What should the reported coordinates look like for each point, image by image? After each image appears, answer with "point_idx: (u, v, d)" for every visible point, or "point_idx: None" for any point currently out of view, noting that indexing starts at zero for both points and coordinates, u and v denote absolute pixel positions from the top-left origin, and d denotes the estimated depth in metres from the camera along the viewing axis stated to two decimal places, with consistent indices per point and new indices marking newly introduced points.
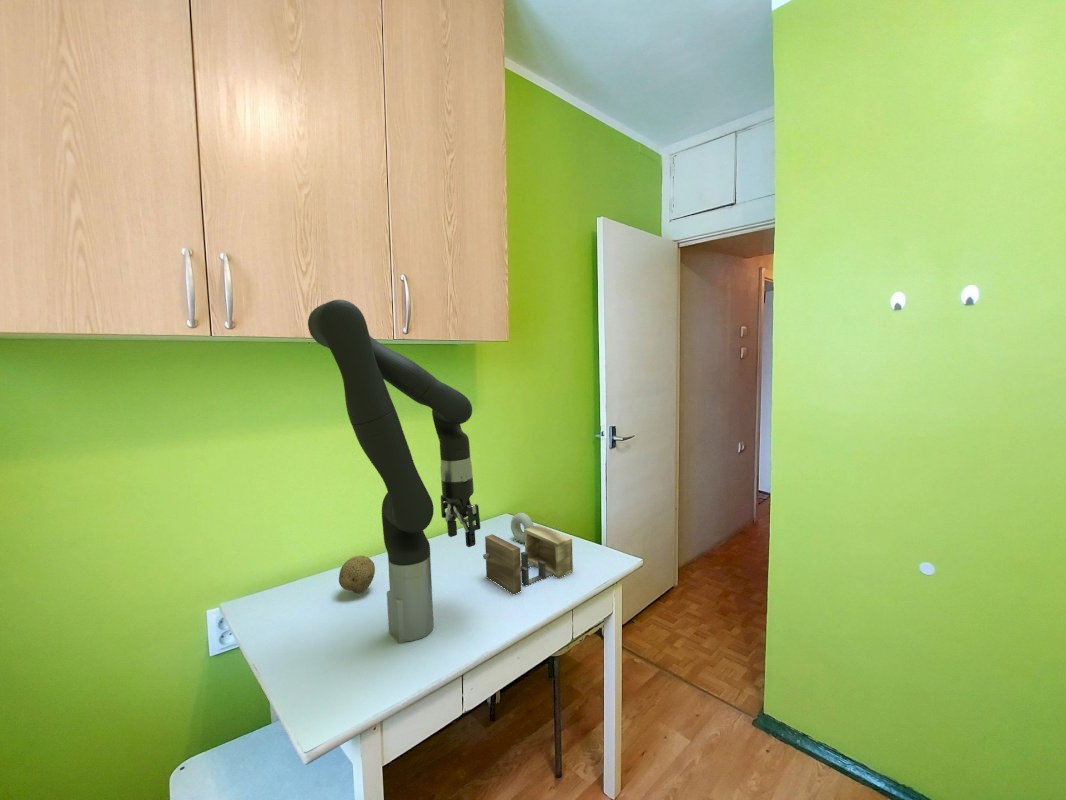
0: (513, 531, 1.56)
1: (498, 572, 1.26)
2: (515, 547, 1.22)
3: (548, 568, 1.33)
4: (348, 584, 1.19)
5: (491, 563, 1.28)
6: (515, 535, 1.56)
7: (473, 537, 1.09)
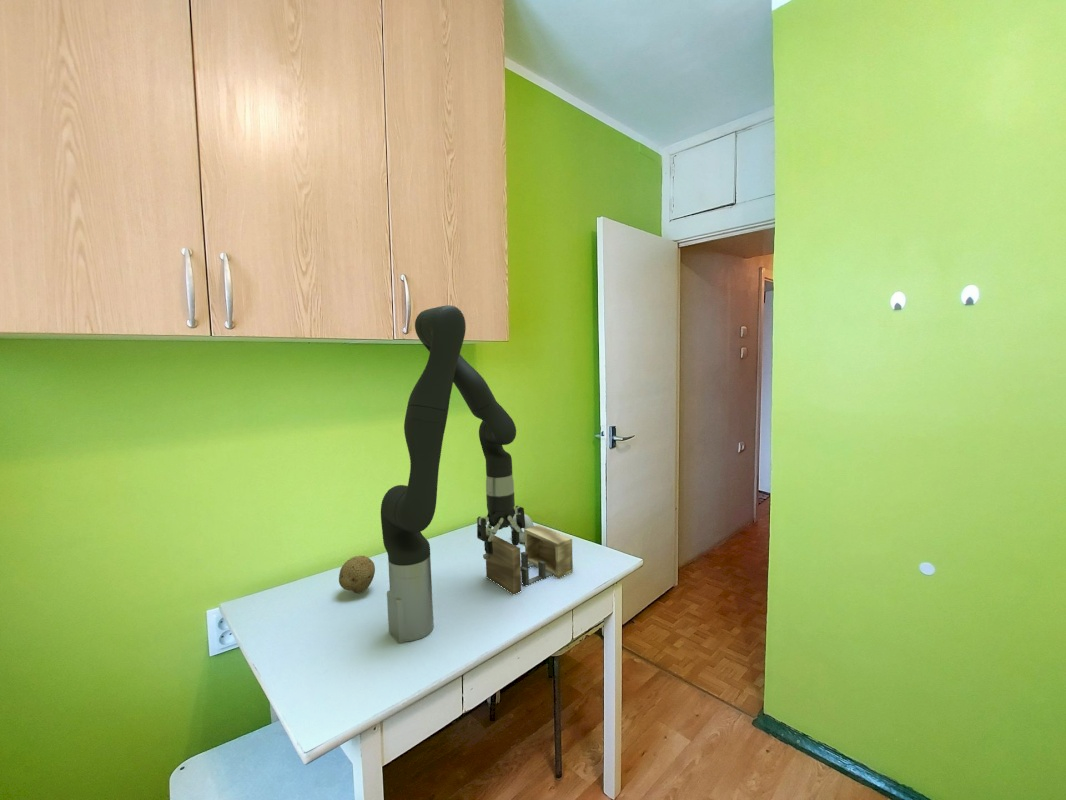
0: None
1: (498, 572, 1.26)
2: (515, 547, 1.22)
3: (548, 568, 1.33)
4: (348, 584, 1.19)
5: (491, 563, 1.28)
6: None
7: None
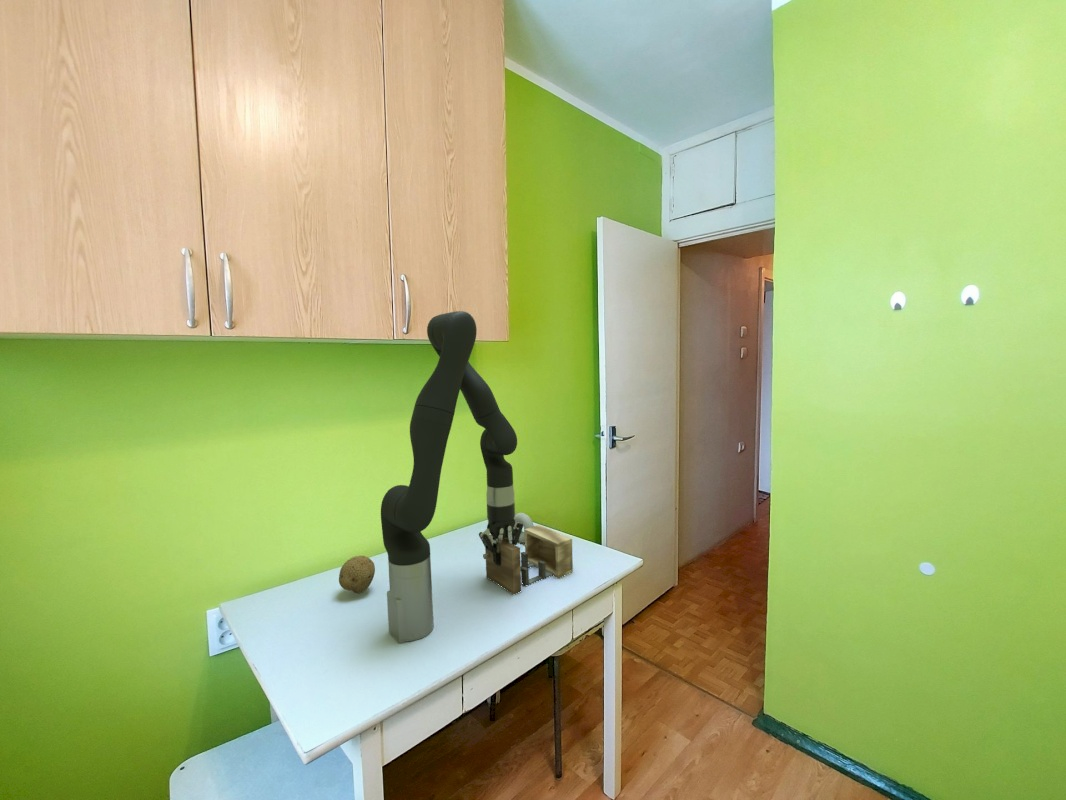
0: None
1: (497, 572, 1.26)
2: (515, 547, 1.22)
3: (548, 568, 1.33)
4: (348, 584, 1.19)
5: (491, 563, 1.28)
6: None
7: None
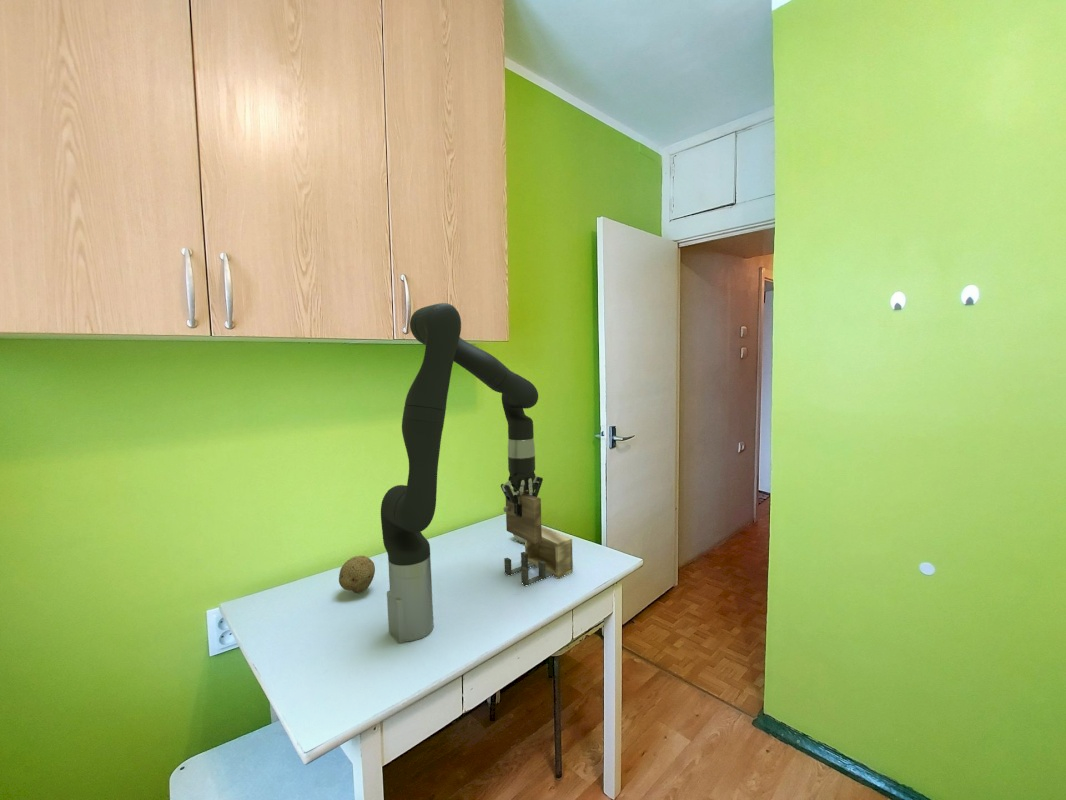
0: None
1: (518, 523, 1.29)
2: (536, 498, 1.25)
3: (548, 568, 1.33)
4: (348, 584, 1.19)
5: (512, 516, 1.32)
6: (515, 535, 1.56)
7: None
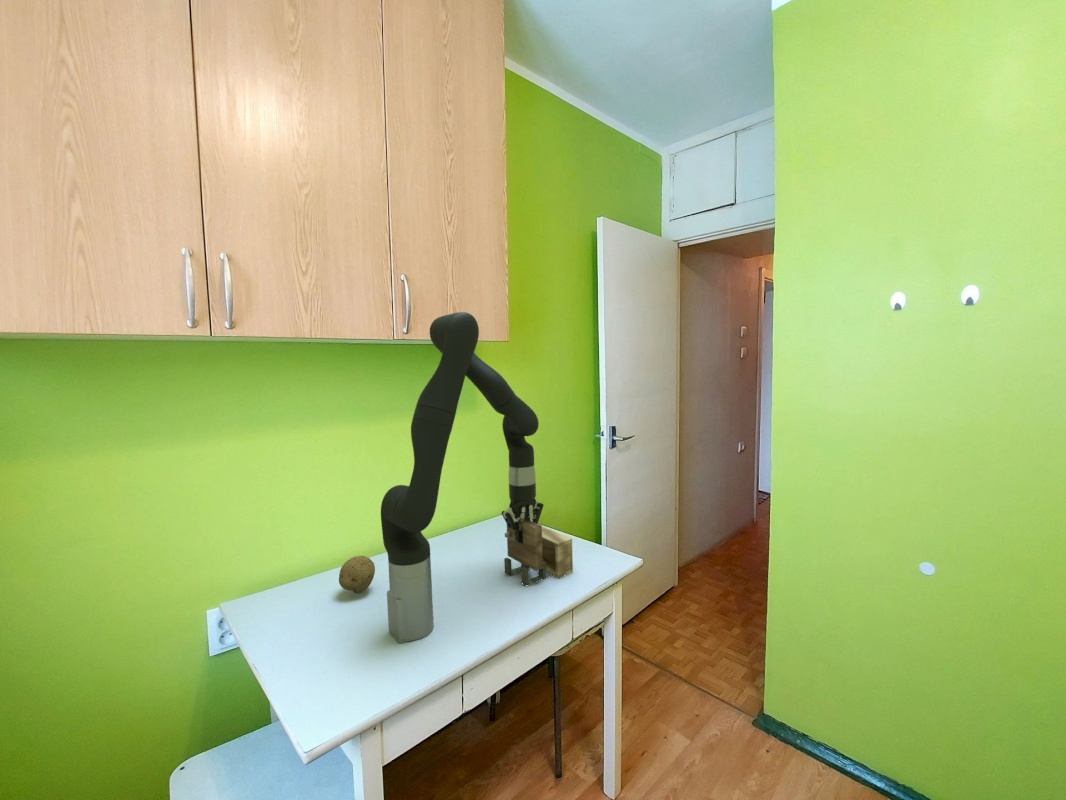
0: None
1: (519, 549, 1.30)
2: (537, 525, 1.26)
3: (548, 568, 1.33)
4: (348, 584, 1.19)
5: (513, 541, 1.32)
6: None
7: None
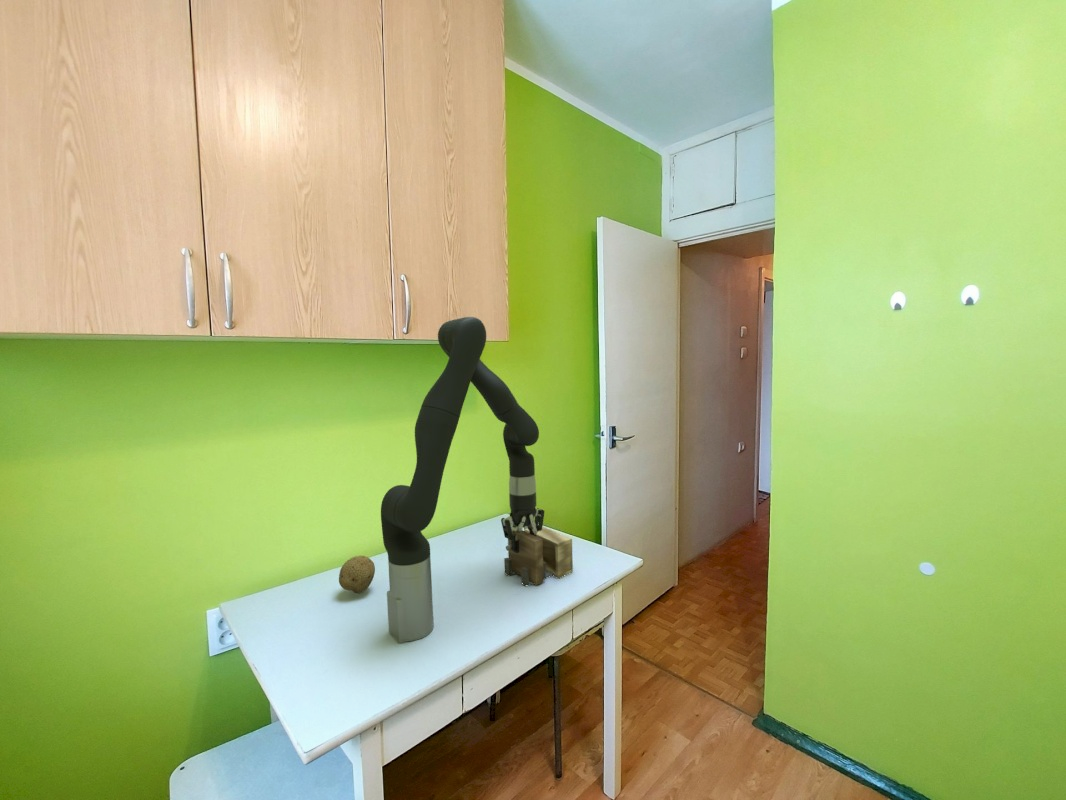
0: None
1: (520, 563, 1.30)
2: (537, 539, 1.26)
3: (548, 568, 1.33)
4: (348, 584, 1.19)
5: (514, 554, 1.32)
6: None
7: None
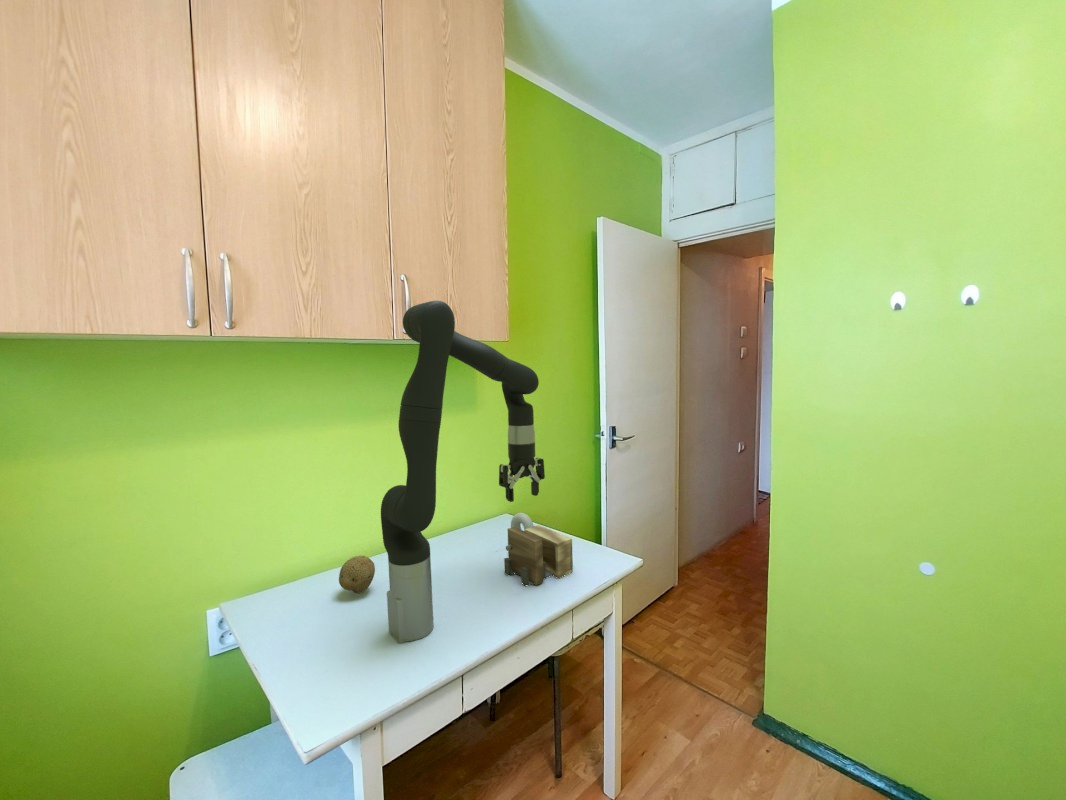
0: None
1: (520, 563, 1.30)
2: (537, 539, 1.26)
3: (548, 568, 1.33)
4: (348, 584, 1.19)
5: (514, 554, 1.32)
6: None
7: None
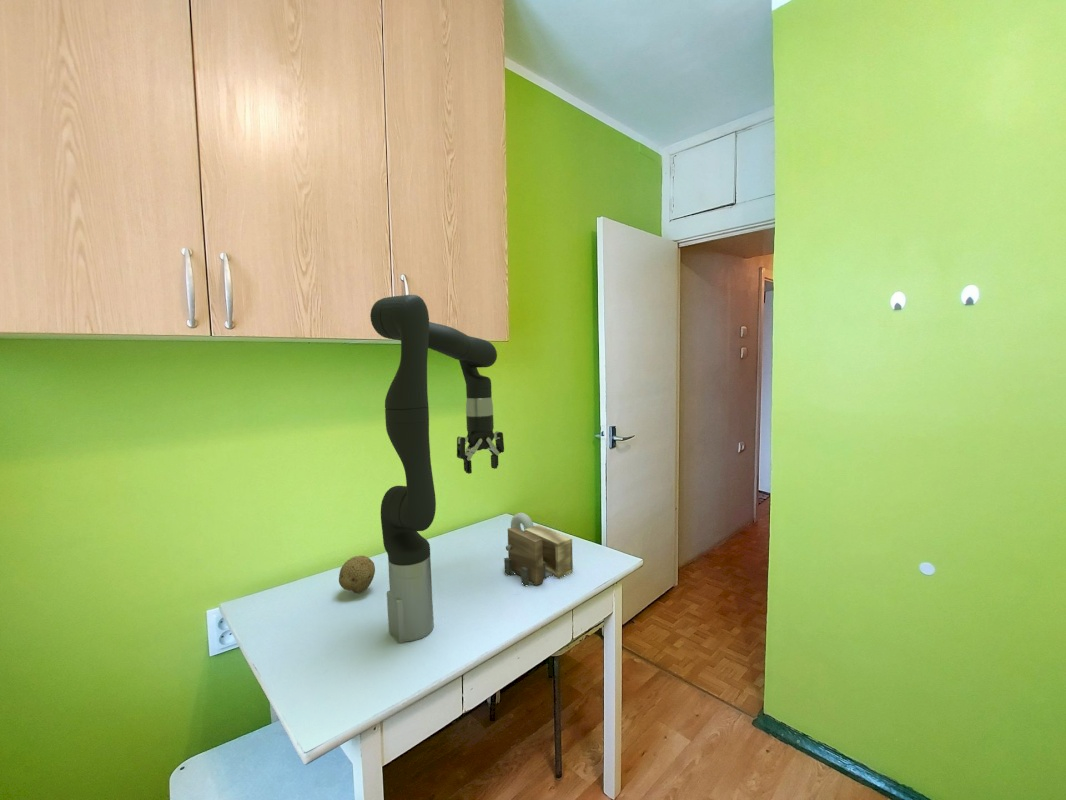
0: None
1: (520, 563, 1.30)
2: (537, 539, 1.26)
3: (548, 568, 1.33)
4: (348, 584, 1.19)
5: (514, 554, 1.32)
6: None
7: None
